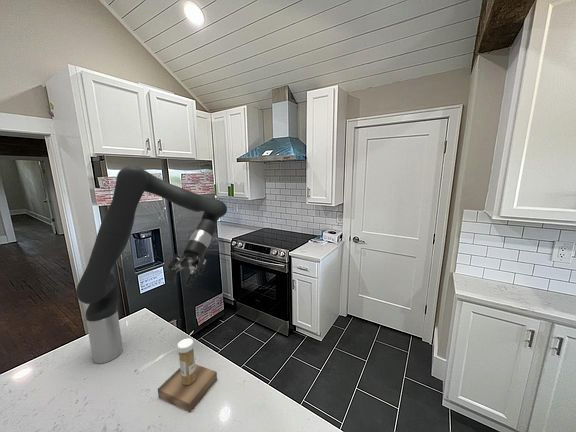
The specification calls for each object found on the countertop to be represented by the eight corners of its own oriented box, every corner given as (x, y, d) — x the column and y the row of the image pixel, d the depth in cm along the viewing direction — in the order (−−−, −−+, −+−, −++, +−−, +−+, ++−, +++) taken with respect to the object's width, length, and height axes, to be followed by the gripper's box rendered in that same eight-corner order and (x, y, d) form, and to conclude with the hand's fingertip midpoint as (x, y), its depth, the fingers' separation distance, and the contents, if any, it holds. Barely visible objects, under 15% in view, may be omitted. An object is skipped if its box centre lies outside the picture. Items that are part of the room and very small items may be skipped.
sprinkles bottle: (197, 381, 74) (194, 343, 72) (182, 388, 72) (178, 349, 70) (194, 371, 78) (191, 335, 76) (180, 378, 76) (176, 341, 74)
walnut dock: (158, 397, 72) (157, 388, 72) (188, 368, 83) (187, 360, 83) (190, 412, 68) (189, 403, 67) (217, 379, 79) (216, 371, 78)
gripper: (178, 237, 91) (155, 276, 82) (208, 240, 85) (186, 282, 77) (190, 246, 96) (169, 284, 88) (218, 250, 91) (199, 290, 83)
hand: (177, 283), depth 82 cm, fingers open, 8 cm apart
